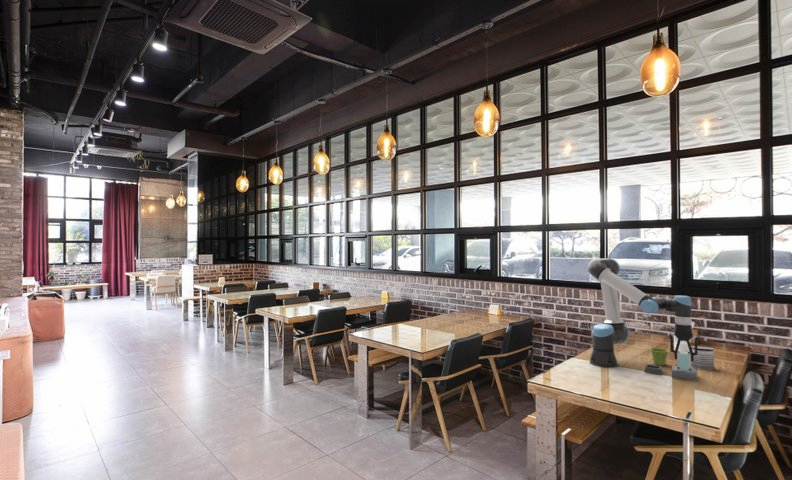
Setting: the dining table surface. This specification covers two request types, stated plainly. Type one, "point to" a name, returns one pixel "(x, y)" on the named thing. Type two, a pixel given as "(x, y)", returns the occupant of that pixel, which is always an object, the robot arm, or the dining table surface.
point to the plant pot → (659, 356)
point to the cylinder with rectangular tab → (681, 345)
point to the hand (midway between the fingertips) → (684, 366)
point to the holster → (653, 369)
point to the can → (703, 358)
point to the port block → (684, 373)
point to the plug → (683, 361)
